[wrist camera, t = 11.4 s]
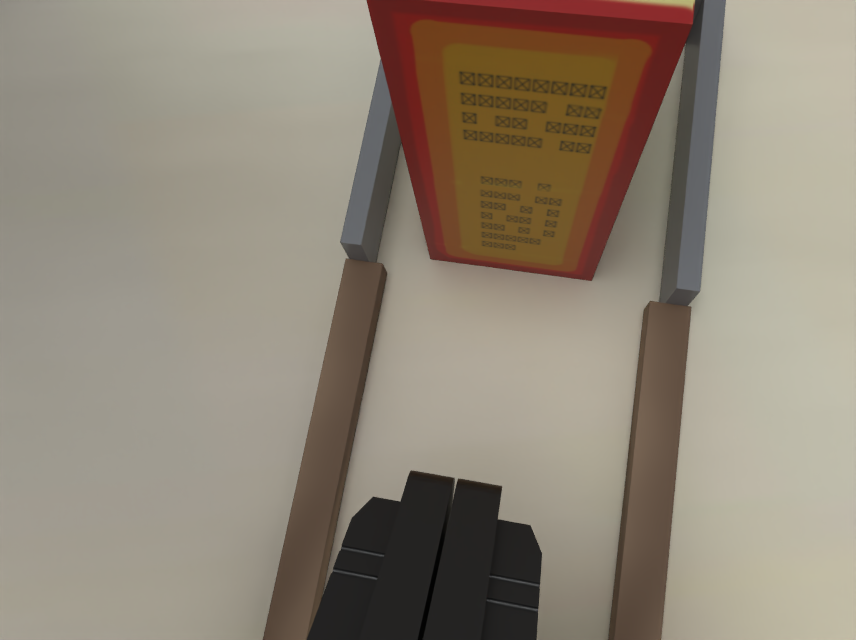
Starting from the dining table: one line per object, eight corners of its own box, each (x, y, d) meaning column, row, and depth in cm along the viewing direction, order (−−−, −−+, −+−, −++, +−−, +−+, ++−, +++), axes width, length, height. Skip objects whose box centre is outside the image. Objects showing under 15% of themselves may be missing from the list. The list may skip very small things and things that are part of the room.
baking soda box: (467, 58, 32) (441, -361, 17) (617, 73, 32) (732, -354, 16) (430, 258, 30) (361, -19, 15) (591, 280, 29) (697, 10, 14)
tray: (355, 268, 30) (340, 242, 27) (412, 1, 33) (404, -48, 31) (679, 315, 28) (699, 291, 26) (706, 28, 32) (727, -21, 29)
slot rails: (268, 657, 26) (257, 663, 25) (351, 268, 30) (345, 258, 29) (643, 739, 25) (650, 749, 24) (683, 315, 28) (691, 306, 27)
